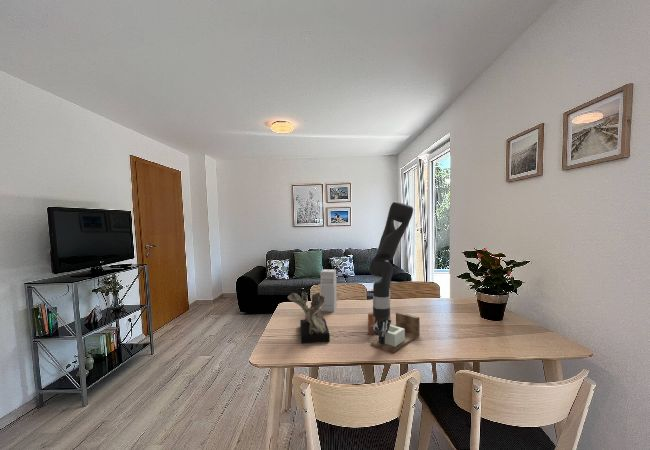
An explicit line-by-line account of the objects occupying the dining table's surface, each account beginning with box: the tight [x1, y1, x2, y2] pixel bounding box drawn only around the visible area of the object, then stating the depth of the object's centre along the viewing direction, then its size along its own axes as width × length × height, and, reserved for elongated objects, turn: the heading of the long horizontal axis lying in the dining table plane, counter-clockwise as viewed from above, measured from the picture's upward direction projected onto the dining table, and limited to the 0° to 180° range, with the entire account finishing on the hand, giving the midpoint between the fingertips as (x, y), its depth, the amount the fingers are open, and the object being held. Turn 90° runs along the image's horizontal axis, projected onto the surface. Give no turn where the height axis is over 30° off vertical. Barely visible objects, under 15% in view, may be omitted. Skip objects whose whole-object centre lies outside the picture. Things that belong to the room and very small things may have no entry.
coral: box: [287, 291, 331, 344], centre depth 143 cm, size 25×20×22 cm
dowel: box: [367, 311, 376, 336], centre depth 144 cm, size 4×4×10 cm
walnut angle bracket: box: [370, 311, 421, 354], centre depth 136 cm, size 12×25×9 cm, turn 136°
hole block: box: [377, 324, 405, 347], centre depth 133 cm, size 9×9×6 cm
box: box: [319, 268, 338, 313], centre depth 182 cm, size 8×8×25 cm
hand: (381, 343), depth 127 cm, fingers closed
